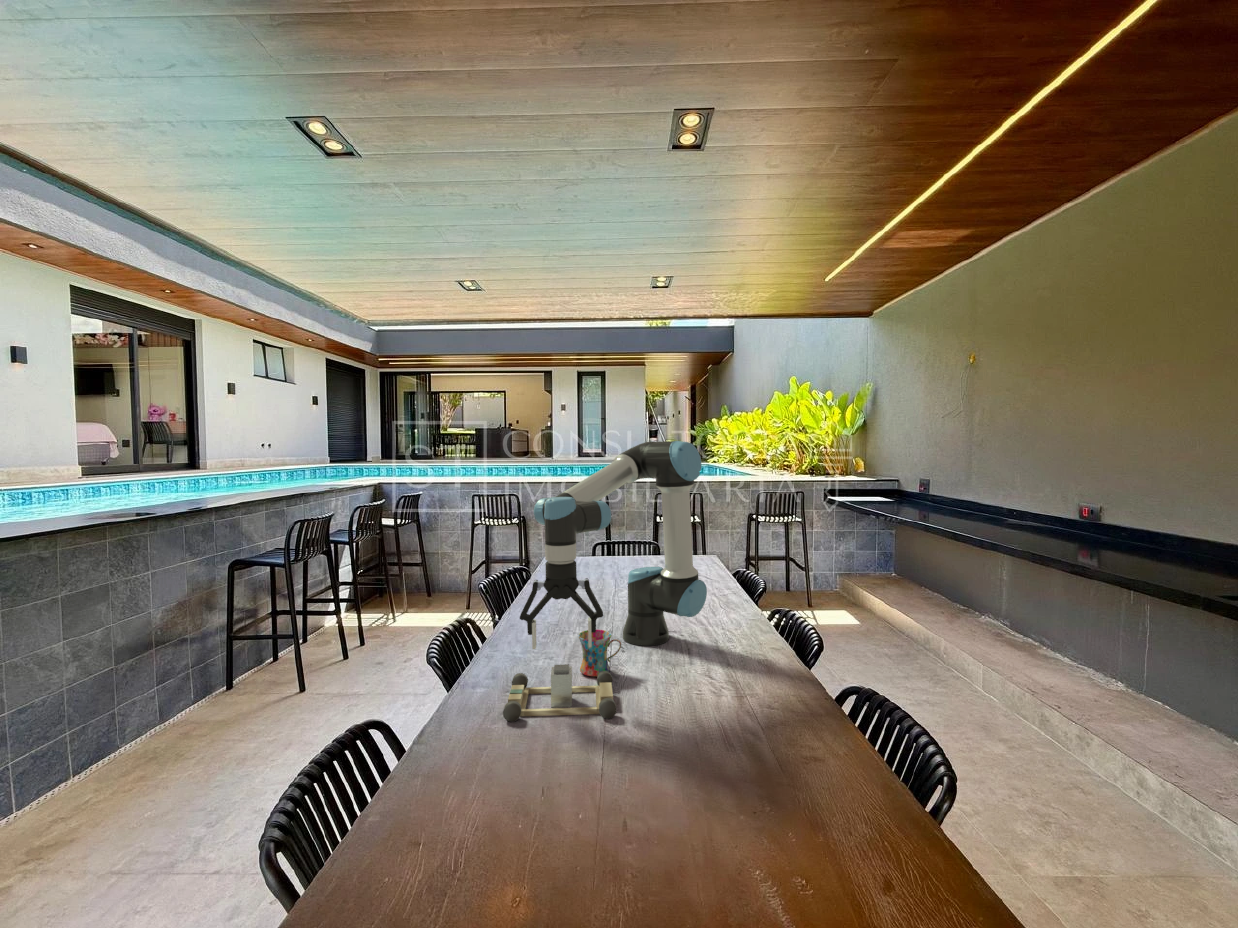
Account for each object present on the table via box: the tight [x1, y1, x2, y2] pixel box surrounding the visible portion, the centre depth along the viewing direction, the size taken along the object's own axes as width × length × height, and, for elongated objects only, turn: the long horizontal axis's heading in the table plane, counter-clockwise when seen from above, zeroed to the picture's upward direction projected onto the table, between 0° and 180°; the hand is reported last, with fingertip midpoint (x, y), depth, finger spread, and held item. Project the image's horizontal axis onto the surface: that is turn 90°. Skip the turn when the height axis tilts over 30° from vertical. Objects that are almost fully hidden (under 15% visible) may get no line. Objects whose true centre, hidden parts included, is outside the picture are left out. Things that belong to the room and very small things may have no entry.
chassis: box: [502, 671, 617, 723], centre depth 139 cm, size 26×18×4 cm
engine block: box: [550, 663, 573, 708], centre depth 139 cm, size 5×5×9 cm
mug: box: [577, 629, 622, 677], centre depth 157 cm, size 12×9×11 cm
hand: (562, 646), depth 139 cm, fingers open, 13 cm apart
